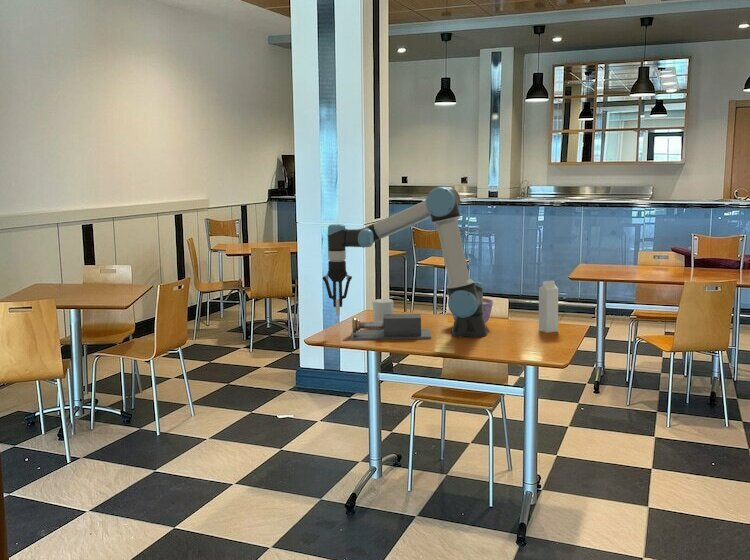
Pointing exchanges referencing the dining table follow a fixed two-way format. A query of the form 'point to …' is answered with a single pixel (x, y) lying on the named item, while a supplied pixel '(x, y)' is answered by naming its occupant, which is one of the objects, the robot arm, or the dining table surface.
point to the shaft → (365, 325)
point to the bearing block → (396, 329)
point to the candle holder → (382, 308)
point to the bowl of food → (484, 309)
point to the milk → (548, 307)
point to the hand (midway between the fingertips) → (338, 314)
